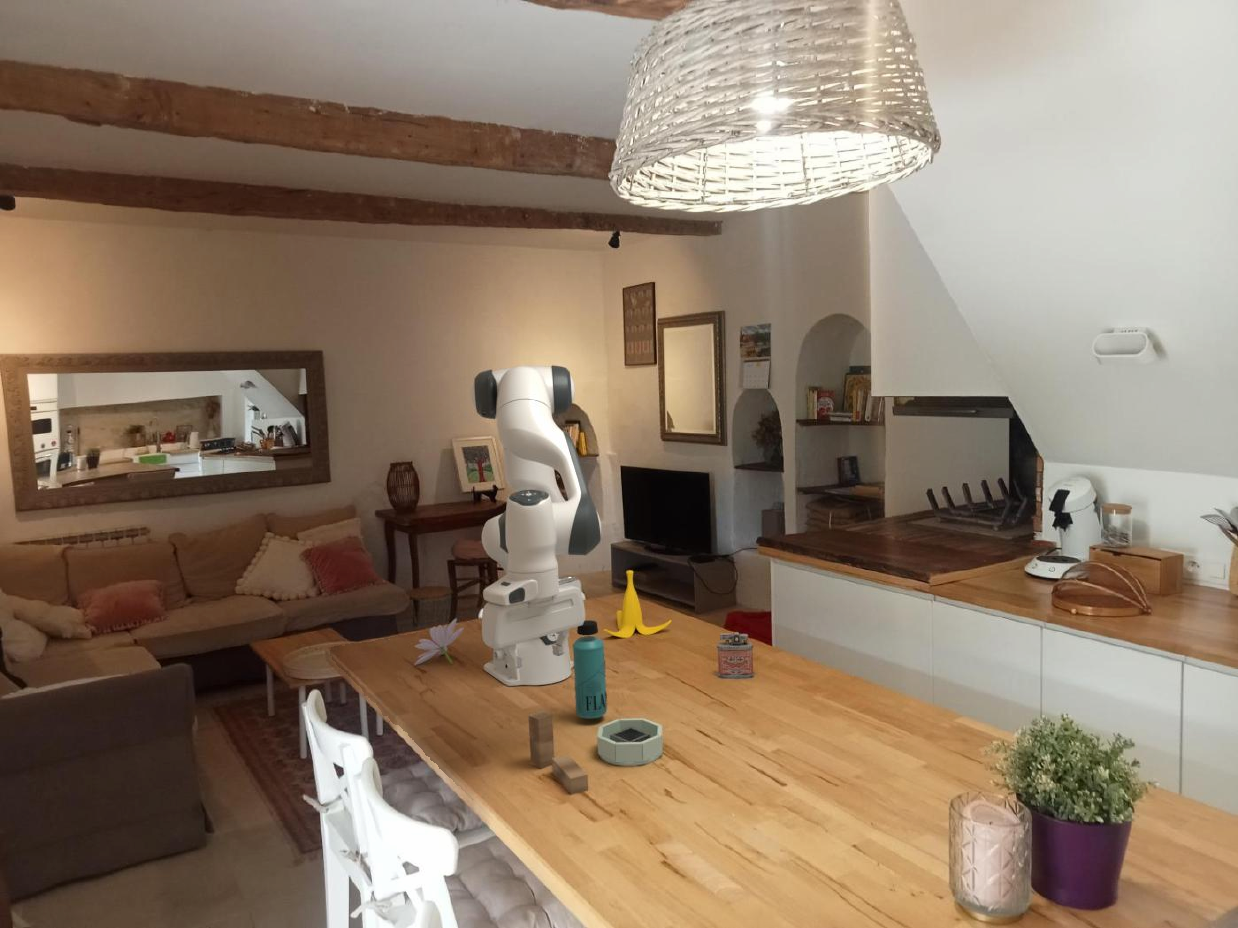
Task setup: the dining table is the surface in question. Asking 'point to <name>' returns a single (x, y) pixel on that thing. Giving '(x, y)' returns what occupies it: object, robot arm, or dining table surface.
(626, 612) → the banana peel
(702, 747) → the dining table surface
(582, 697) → the beverage bottle
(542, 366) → the robot arm
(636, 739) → the wick clip
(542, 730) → the wooden post
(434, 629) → the water lily
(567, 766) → the small wooden block
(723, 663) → the lighter
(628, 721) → the faceted green bowl
